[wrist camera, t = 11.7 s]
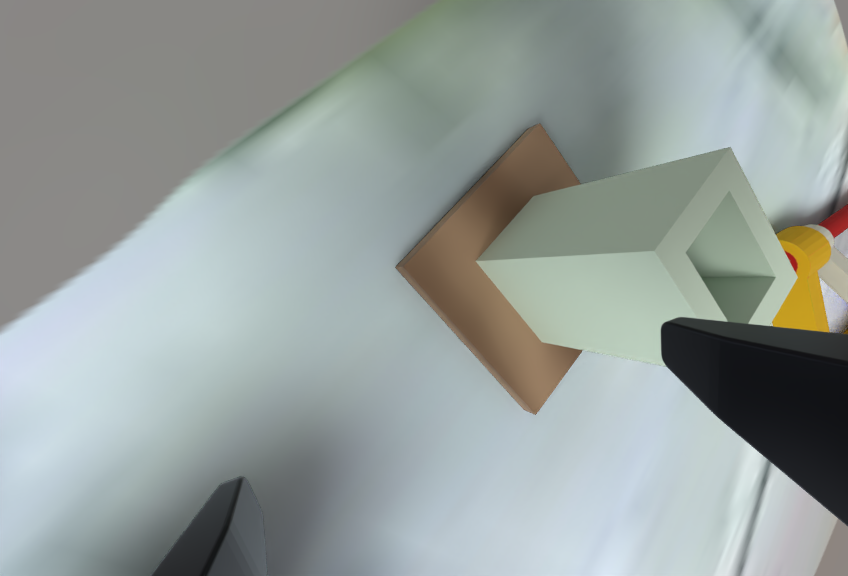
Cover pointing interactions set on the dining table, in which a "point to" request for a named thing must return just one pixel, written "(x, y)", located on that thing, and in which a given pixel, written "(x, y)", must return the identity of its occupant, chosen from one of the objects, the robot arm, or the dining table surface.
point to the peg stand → (470, 286)
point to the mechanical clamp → (813, 272)
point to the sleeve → (641, 257)
